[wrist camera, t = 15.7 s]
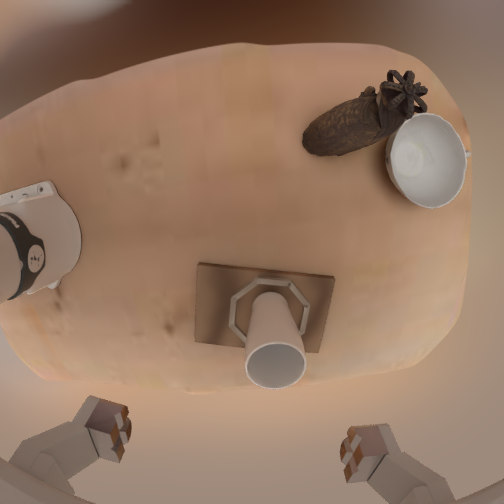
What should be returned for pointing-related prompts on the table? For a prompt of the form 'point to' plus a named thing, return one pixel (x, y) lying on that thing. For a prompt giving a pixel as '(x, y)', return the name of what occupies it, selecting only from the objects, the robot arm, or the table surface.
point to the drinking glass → (273, 344)
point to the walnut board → (243, 295)
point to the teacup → (426, 160)
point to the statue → (366, 117)
